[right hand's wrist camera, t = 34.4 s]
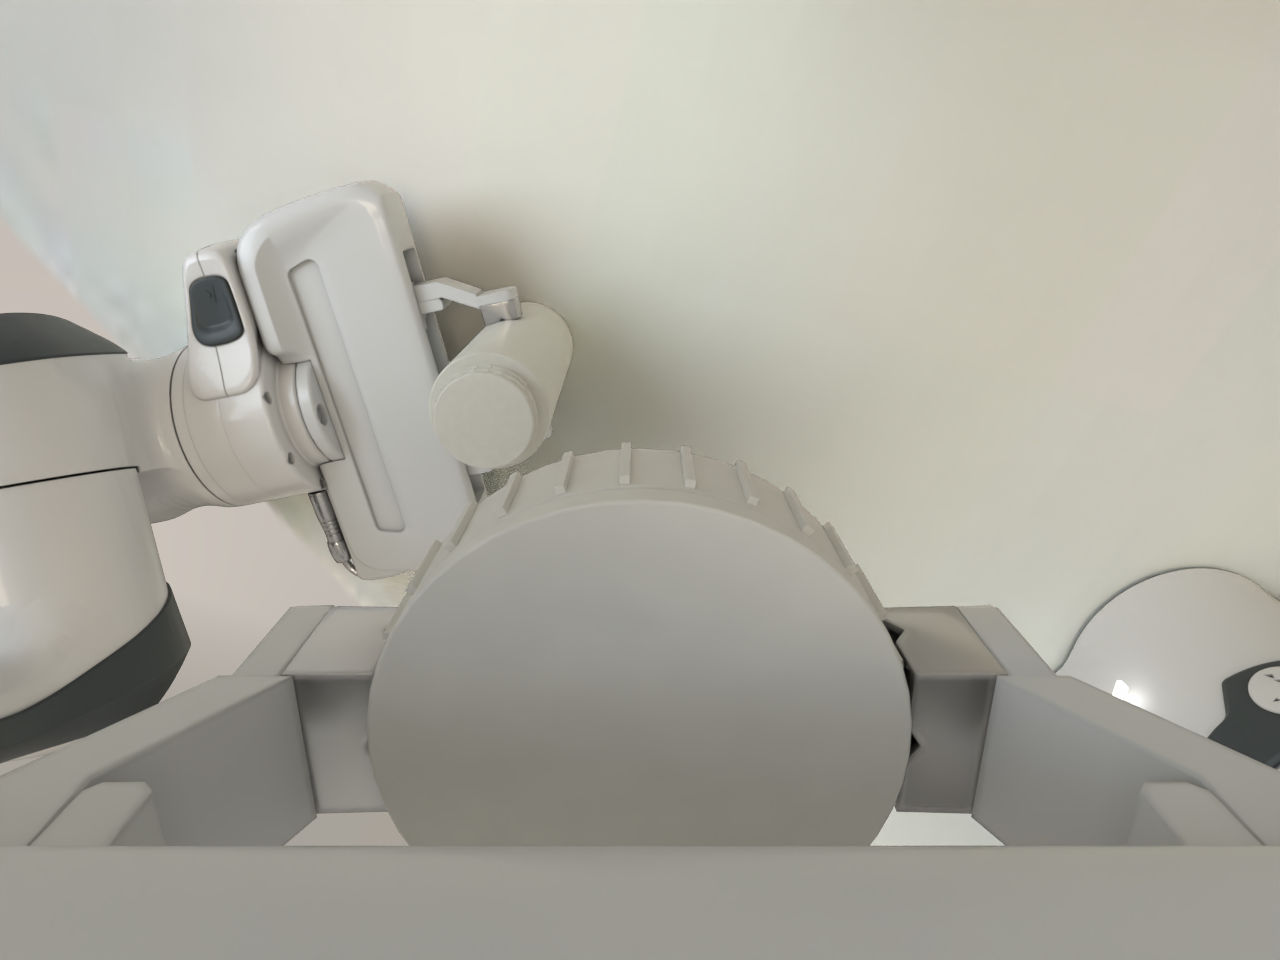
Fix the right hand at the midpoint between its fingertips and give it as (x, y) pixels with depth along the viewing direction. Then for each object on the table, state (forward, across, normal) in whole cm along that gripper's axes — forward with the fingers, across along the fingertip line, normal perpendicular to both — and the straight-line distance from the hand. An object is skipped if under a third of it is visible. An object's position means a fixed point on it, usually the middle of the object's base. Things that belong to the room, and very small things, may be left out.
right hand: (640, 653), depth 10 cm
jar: (+37, +6, +3) cm, 38 cm away
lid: (-2, 0, 0) cm, 2 cm away
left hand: (+32, +6, +3) cm, 32 cm away
